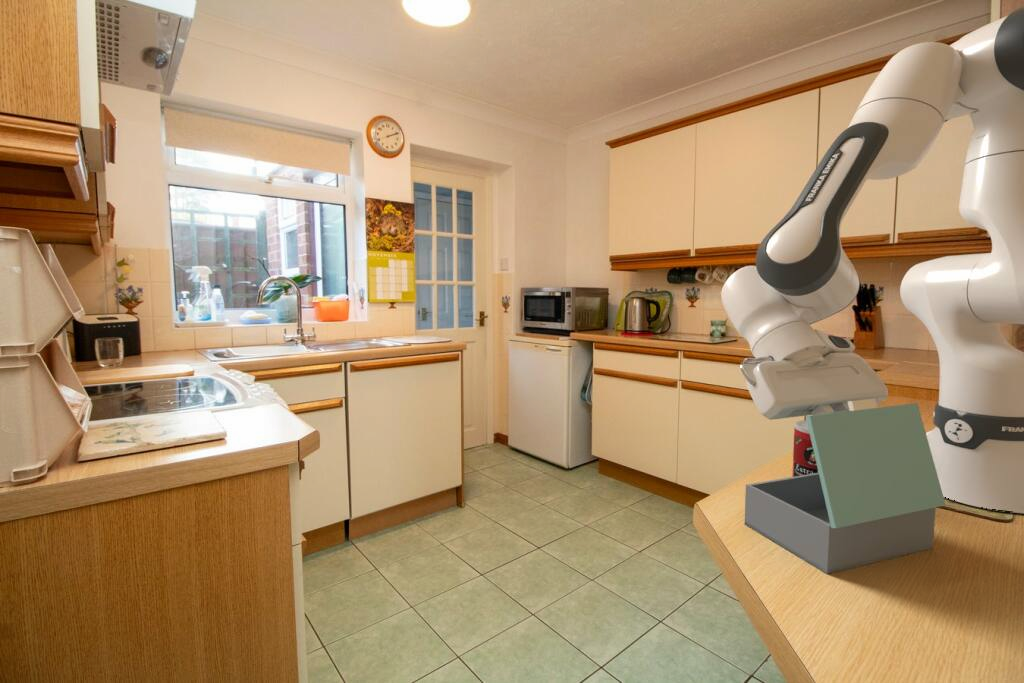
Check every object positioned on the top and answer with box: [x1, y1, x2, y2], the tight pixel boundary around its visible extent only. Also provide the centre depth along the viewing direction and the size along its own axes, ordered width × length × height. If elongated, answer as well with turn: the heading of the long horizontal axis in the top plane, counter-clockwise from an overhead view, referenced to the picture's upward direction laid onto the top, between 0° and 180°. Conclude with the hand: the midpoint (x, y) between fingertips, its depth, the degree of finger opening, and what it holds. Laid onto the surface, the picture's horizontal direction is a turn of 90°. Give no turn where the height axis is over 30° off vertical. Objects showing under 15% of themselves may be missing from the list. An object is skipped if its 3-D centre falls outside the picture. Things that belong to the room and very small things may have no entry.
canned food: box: [792, 419, 819, 477], centre depth 80 cm, size 8×8×11 cm
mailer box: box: [744, 473, 937, 575], centre depth 65 cm, size 18×13×6 cm
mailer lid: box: [805, 399, 947, 528], centre depth 59 cm, size 18×14×1 cm
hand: (852, 438), depth 62 cm, fingers closed
